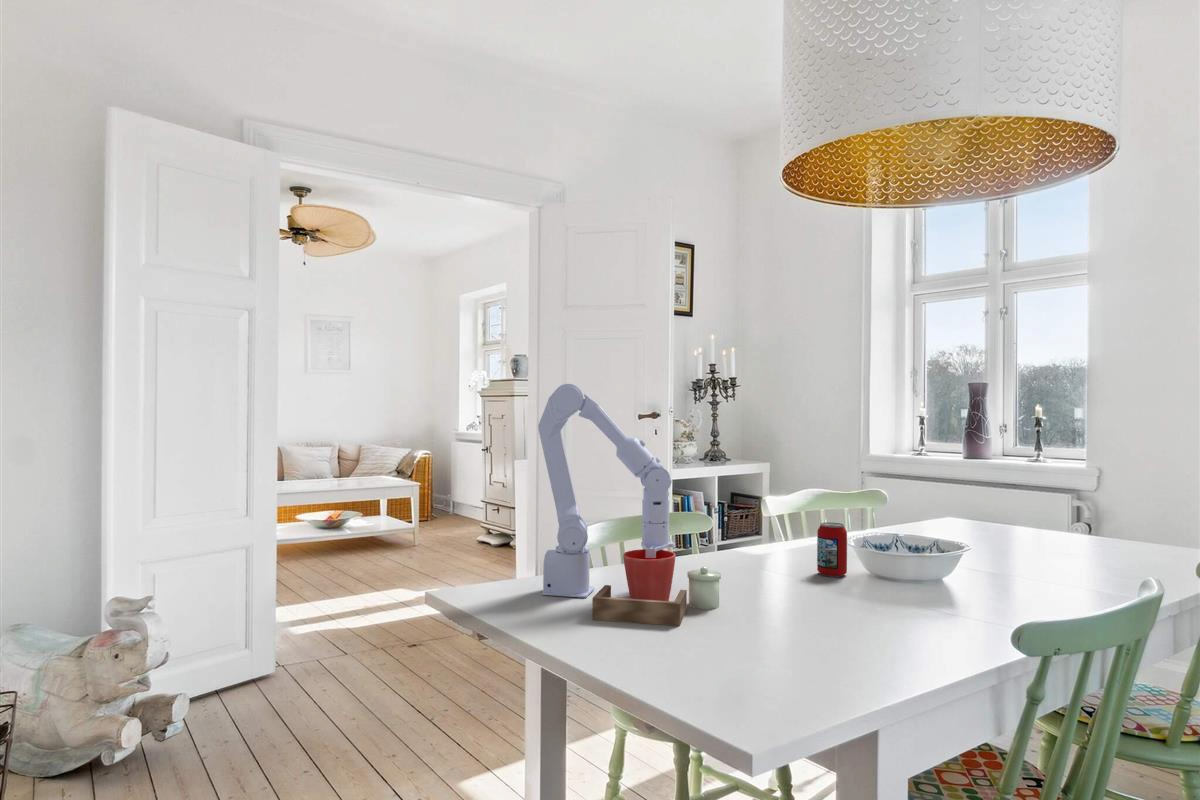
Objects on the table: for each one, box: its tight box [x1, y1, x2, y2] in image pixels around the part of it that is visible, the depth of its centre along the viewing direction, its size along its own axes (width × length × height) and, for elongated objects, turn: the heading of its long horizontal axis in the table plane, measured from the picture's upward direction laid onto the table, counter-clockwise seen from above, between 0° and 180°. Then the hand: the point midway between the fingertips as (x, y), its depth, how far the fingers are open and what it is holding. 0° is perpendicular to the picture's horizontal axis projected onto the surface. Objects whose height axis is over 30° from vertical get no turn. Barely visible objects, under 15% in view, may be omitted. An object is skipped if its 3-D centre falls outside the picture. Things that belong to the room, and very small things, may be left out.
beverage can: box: [816, 521, 848, 578], centre depth 179 cm, size 7×7×12 cm
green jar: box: [686, 566, 722, 610], centre depth 150 cm, size 7×7×8 cm
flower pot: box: [622, 548, 676, 601], centre depth 153 cm, size 11×11×10 cm
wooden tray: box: [591, 584, 688, 627], centre depth 143 cm, size 16×11×4 cm, turn 77°
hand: (655, 585), depth 160 cm, fingers closed
